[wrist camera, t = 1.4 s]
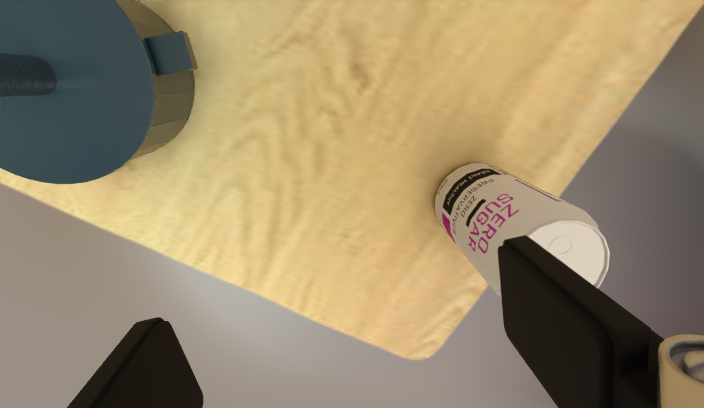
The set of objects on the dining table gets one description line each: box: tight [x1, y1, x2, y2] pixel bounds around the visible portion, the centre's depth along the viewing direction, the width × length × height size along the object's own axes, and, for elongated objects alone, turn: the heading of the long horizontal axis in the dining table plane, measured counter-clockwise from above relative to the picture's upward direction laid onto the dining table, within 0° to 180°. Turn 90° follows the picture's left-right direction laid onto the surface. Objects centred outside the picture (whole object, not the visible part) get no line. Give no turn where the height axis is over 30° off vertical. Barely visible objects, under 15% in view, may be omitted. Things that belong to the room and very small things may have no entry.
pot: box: [118, 0, 198, 160], centre depth 28 cm, size 14×19×8 cm
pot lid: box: [0, 0, 158, 184], centre depth 21 cm, size 15×15×6 cm
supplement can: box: [435, 163, 610, 298], centre depth 30 cm, size 8×8×15 cm
